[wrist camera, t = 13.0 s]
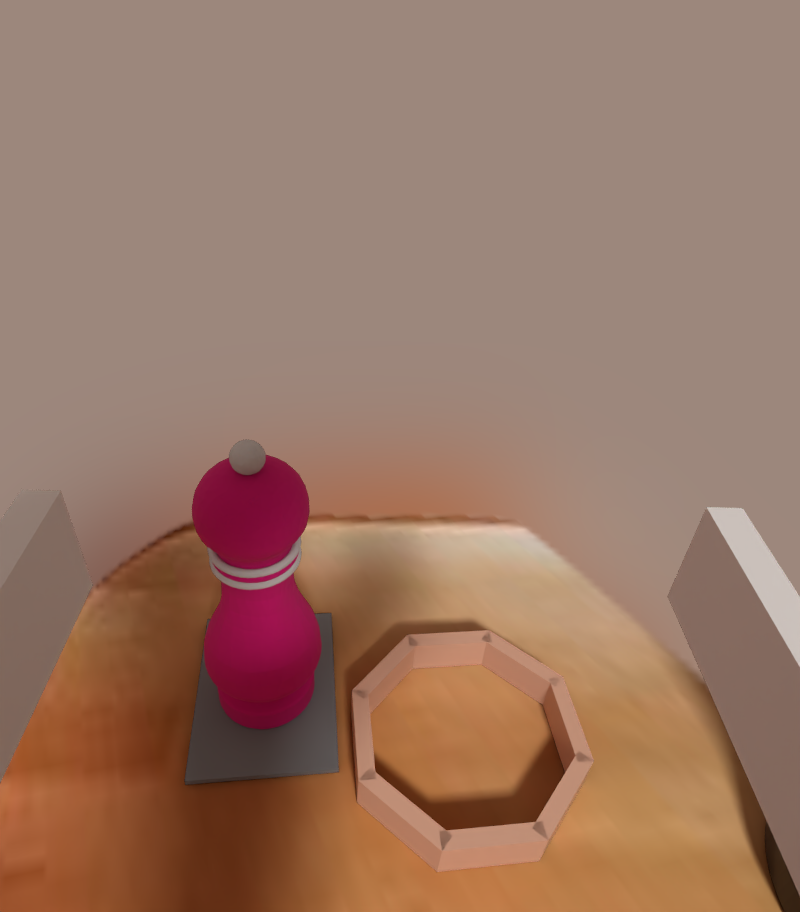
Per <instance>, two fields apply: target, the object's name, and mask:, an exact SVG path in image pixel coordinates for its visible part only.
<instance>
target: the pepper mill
mask: <svg viewBox="0 0 800 912" xmlns="http://www.w3.org/2000/svg"><path fill="white" fill-rule="evenodd" d="M308 517H309V498H308V493H307V490H306V487H305V485H304V483H303V481H302V479H301V477H300V476H299V474H298V473H297V472H296V471H295V470H294V469H293V468H292V467H290V466H289V465H288V464H287V463H285V462H284V461H281V460H279V459H278V458H275V457H271V456H268V455H265V451H264V449H263V448H262V446H261V445H260V444H259V443H257V442H255V441H253V440H242V441H239V442H238V443H236V444H235V445H234V446H233V447H232V449H231V450H230V454H229V458H227V459H225V460H223V461H221V462H219V463H217V464H216V465H215V466H213V467H212V468H211V469H210V470H208V472H207V473H206V474H205V475H204V476H203V478H202V479H201V481H200V483H199V484H198V486H197V488H196V490H195V494H194V498H193V504H192V518H193V522H194V526H195V529H196V532H197V534H198V536H199V537H200V539H201V540H202V542H203V543H204V544H205V545H206V546H207V550H208V555H209V564H210V567H211V570H212V572H213V574H214V575H215V576H216V577H217V578H218V579H219V580H220V581H221V587H222V596H221V601H220V603H219V605H218V607H217V608H216V610H215V612H214V614H213V616H212V618H211V620H210V622H209V625H208V628H207V632H206V635H205V639H204V660H205V666H206V669H207V672H208V674H209V676H210V678H211V679H212V681H213V683H214V684H215V685H216V686H217V688H218V694H219V700H220V703H221V706H222V708H223V709H224V711H225V713H226V714H227V715H228V716H229V717H230V718H231V719H232V720H233V721H235V722H236V723H238V724H240V725H242V726H245V727H248V728H254V729H270V728H275V727H279V726H281V725H284V724H286V723H288V722H290V721H291V720H293V719H294V718H296V717H297V716H298V715H299V714H300V713H301V712H302V711H303V710H304V709H305V708H306V706H307V705H308V703H309V702H310V700H311V698H312V695H313V691H314V683H315V682H314V671H315V669H316V667H317V665H318V662H319V659H320V655H321V648H322V643H321V635H320V628H319V624H318V621H317V619H316V616H315V614H314V612H313V610H312V608H311V606H310V605H309V604H308V602H307V601H306V599H305V598H304V597H303V595H302V594H301V593H300V591H299V590H298V588H297V585H296V583H295V580H294V574H293V572H294V571H295V570H296V569H297V567H298V565H299V563H300V560H301V547H300V546H301V534H302V533H303V532H304V530H305V528H306V525H307V521H308Z"/></svg>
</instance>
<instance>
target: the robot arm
mask: <svg viewBox="0 0 800 912" xmlns="http://www.w3.org/2000/svg"><path fill="white" fill-rule="evenodd" d="M92 586H93V584H92V580H91V577H90V575H89V572H88V569H87V566H86V563H85V560H84V557H83V554H82V551H81V548H80V546H79V543H78V540H77V537H76V534H75V531H74V528H73V525H72V522H71V519H70V516H69V513H68V510H67V507H66V504H65V502H64V499H63V496H62V493H61V491H54V490H52V491H51V490H21V491H20V493H19V494H18V495H17V497H16V498H15V500H14V501H13V503H12V504H11V506H10V507H9V509H8V510H7V511H6V513H5V514H4V516H3V517H2V519H1V520H0V782H1V780H2V778H3V776H4V774H5V772H6V770H7V767H8V765H9V763H10V761H11V759H12V757H13V755H14V752H15V750H16V748H17V746H18V744H19V742H20V740H21V737H22V735H23V733H24V731H25V729H26V727H27V725H28V723H29V720H30V718H31V716H32V714H33V712H34V710H35V708H36V705H37V703H38V701H39V699H40V697H41V695H42V693H43V691H44V688H45V686H46V684H47V682H48V680H49V678H50V676H51V673H52V671H53V669H54V667H55V665H56V663H57V661H58V658H59V656H60V654H61V652H62V650H63V648H64V646H65V644H66V641H67V639H68V637H69V635H70V633H71V631H72V629H73V626H74V624H75V622H76V620H77V618H78V616H79V614H80V612H81V609H82V607H83V605H84V603H85V601H86V599H87V597H88V594H89V592H90V590H91V588H92ZM668 598H669V601H670V603H671V605H672V607H673V610H674V612H675V614H676V616H677V618H678V621H679V623H680V626H681V628H682V630H683V632H684V635H685V637H686V639H687V641H688V644H689V646H690V648H691V650H692V652H693V655H694V657H695V659H696V662H697V664H698V666H699V669H700V671H701V673H702V675H703V678H704V680H705V682H706V684H707V687H708V689H709V691H710V694H711V696H712V698H713V700H714V703H715V705H716V707H717V709H718V712H719V714H720V716H721V718H722V721H723V723H724V725H725V728H726V730H727V732H728V734H729V737H730V739H731V741H732V743H733V746H734V748H735V750H736V753H737V755H738V757H739V759H740V762H741V764H742V766H743V768H744V771H745V773H746V775H747V777H748V780H749V782H750V784H751V787H752V789H753V791H754V793H755V796H756V798H757V800H758V802H759V805H760V807H761V809H762V811H763V814H764V816H765V818H766V828H765V847H766V855H767V861H768V866H769V871H770V874H771V878H772V881H773V884H774V887H775V890H776V893H777V895H778V898H779V900H780V902H781V905H782V907H783V909H784V911H785V912H800V596H799V595H798V593H797V592H796V590H795V588H794V587H793V585H792V584H791V582H790V581H789V579H788V578H787V576H786V574H785V573H784V571H783V570H782V568H781V567H780V565H779V564H778V562H777V561H776V559H775V558H774V556H773V555H772V553H771V551H770V550H769V548H768V547H767V545H766V544H765V542H764V541H763V539H762V537H761V536H760V534H759V533H758V531H757V530H756V528H755V527H754V525H753V524H752V522H751V520H750V519H749V518H748V516H747V514H746V513H745V511H744V510H743V508H711V507H707V508H706V510H705V512H704V514H703V517H702V519H701V521H700V524H699V526H698V528H697V530H696V533H695V535H694V537H693V540H692V542H691V544H690V546H689V549H688V551H687V553H686V556H685V558H684V560H683V562H682V565H681V567H680V569H679V571H678V574H677V576H676V578H675V581H674V583H673V585H672V587H671V590H670V592H669V594H668Z"/></svg>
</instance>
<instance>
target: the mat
mask: <svg viewBox="0 0 800 912" xmlns="http://www.w3.org/2000/svg"><path fill="white" fill-rule="evenodd" d="M315 616H316V619H317V621H318V624H319V628H320V635H321V643H322V648H321V655H320V659H319V662H318V665H317V667H316V669H315V671H314V682H315V683H314V691H313V695H312V698H311V700H310V702H309V703H308V705H307V706H306V708H305V709H304V710H303V711H302V712H301V713H300V714H299V715H298V716H297V717H296V718H294V719H293V720H291V721H290V722H288V723H286V724H284V725H281V726H279V727H275V728H270V729H254V728H248V727H245V726H242V725H240V724H238V723H236V722H235V721H233V720H232V719H231V718H230V717H229V716H228V715H227V714H226V713H225V711H224V709H223V708H222V706H221V703H220V700H219V694H218V688H217V686H216V685H215V684H214V683H213V681H212V679H211V678H210V676H209V674H208V672H207V669H206V666H205V660H204V648H203V655H202V662H201V669H200V676H199V683H198V690H197V697H196V704H195V711H194V718H193V725H192V732H191V739H190V746H189V753H188V760H187V767H186V774H185V785H187V784H199V783H212V782H224V781H236V780H248V779H261V778H273V777H285V776H297V775H310V774H322V773H334V772H339V766H338V745H337V723H336V702H335V680H334V659H333V637H332V616H331V613H321V614H315ZM210 620H211V619H208V620H207V627H206V632H207V628H208V625H209V622H210ZM205 635H206V634H205Z"/></svg>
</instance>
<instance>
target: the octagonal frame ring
mask: <svg viewBox="0 0 800 912" xmlns="http://www.w3.org/2000/svg"><path fill="white" fill-rule="evenodd" d="M480 664H482V665H483V666H485V667H486V668H488V669H489V670H491V671H492V672H494V673H495V674H497V675H498V676H500V677H501V678H503V679H504V680H506V681H507V682H509V683H510V684H512V685H513V686H515V687H516V688H518V689H519V690H521V691H522V692H524V693H525V694H527V695H528V696H530V697H531V698H533V699H535V700H536V701H538V702H539V703H541V704H542V705H543V707H544V710H545V713H546V716H547V719H548V722H549V725H550V728H551V731H552V734H553V738H554V741H555V744H556V747H557V750H558V753H559V756H560V759H561V762H562V765H563V768H564V771H565V774H564V776H563V777H562V779H561V781H560V782H559V784H558V786H557V787H556V789H555V791H554V792H553V794H552V796H551V797H550V799H549V801H548V802H547V804H546V806H545V807H544V809H543V811H542V812H541V814H540V816H539V817H538V819H537V821H536V822H530V823H519V824H509V825H499V826H488V827H478V828H467V829H457V830H447V831H446V830H445V829H444V828H443V827H441V826H440V825H439V824H438V823H437V822H435V821H434V820H433V819H432V818H430V817H429V816H428V815H427V814H426V813H424V812H423V811H422V810H421V809H420V808H418V807H417V806H416V805H415V804H414V803H412V802H411V801H410V800H409V799H407V798H406V797H405V796H404V795H403V794H401V793H400V792H399V791H398V790H397V789H395V788H394V787H393V786H392V785H390V784H389V783H388V782H387V781H386V780H384V779H383V778H382V777H381V776H380V775H378V774H377V773H376V772H375V763H374V752H373V741H372V730H371V719H370V714H371V712H372V711H373V710H374V709H375V708H376V707H377V706H378V705H379V704H380V703H381V702H382V701H383V700H384V699H385V697H386V696H387V695H388V694H389V693H390V692H391V691H392V690H393V689H394V688H395V687H396V686H397V685H398V684H399V683H400V681H401V680H402V679H403V678H404V677H405V676H406V675H407V674H408V673H409V672H410V671H411V670H412V669H415V668H431V667H447V666H464V665H480ZM351 719H352V734H353V749H354V764H355V779H356V794H357V803H358V804H359V805H361V806H362V807H363V808H364V809H365V810H366V811H367V812H369V813H370V814H371V815H372V816H373V817H374V818H376V819H377V820H378V821H379V822H380V823H381V824H382V825H384V826H385V827H386V828H387V829H388V830H389V831H391V832H392V833H393V834H394V835H395V836H396V837H397V838H399V839H400V840H401V841H402V842H403V843H404V844H406V845H407V846H408V847H409V848H410V849H411V850H412V851H414V852H415V853H416V854H417V855H418V856H419V857H421V858H422V859H423V860H424V861H425V862H426V863H427V864H429V865H430V866H431V867H432V868H433V869H434V870H436V871H437V872H440V871H449V870H459V869H469V868H478V867H488V866H497V865H507V864H516V863H526V862H536V861H540V859H541V857H542V856H543V854H544V852H545V850H546V849H547V847H548V845H549V843H550V842H551V840H552V838H553V836H554V834H555V833H556V831H557V829H558V827H559V826H560V824H561V822H562V820H563V819H564V817H565V815H566V813H567V812H568V810H569V808H570V806H571V805H572V803H573V801H574V799H575V798H576V796H577V794H578V792H579V790H580V789H581V787H582V785H583V783H584V782H585V779H586V777H587V775H588V773H589V771H590V768H591V766H592V764H593V762H594V760H593V757H592V754H591V752H590V749H589V746H588V743H587V741H586V738H585V735H584V733H583V730H582V727H581V724H580V722H579V719H578V716H577V713H576V711H575V708H574V705H573V703H572V700H571V697H570V694H569V692H568V689H567V686H566V684H565V681H564V678H563V676H561V675H560V674H558V673H556V672H555V671H553V670H552V669H550V668H548V667H547V666H545V665H544V664H542V663H540V662H539V661H537V660H536V659H534V658H533V657H531V656H529V655H528V654H526V653H525V652H523V651H521V650H520V649H518V648H517V647H515V646H513V645H512V644H510V643H509V642H507V641H505V640H504V639H502V638H501V637H499V636H497V635H496V634H494V633H493V632H491V631H490V630H484V631H465V632H446V633H428V634H409V635H407V636H406V637H405V638H404V639H403V640H402V641H401V642H400V643H399V644H398V645H397V646H396V647H395V648H394V649H393V650H392V651H391V652H390V653H389V654H388V655H387V656H386V657H385V658H384V659H383V660H382V661H381V662H380V663H379V664H378V665H377V666H376V667H375V668H374V669H373V670H372V671H371V672H370V673H369V674H368V675H367V676H366V677H365V678H364V679H363V680H362V681H361V682H360V683H359V684H358V685H357V686H356V687H355V688H354V689H353V690H352V702H351Z"/></svg>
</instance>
